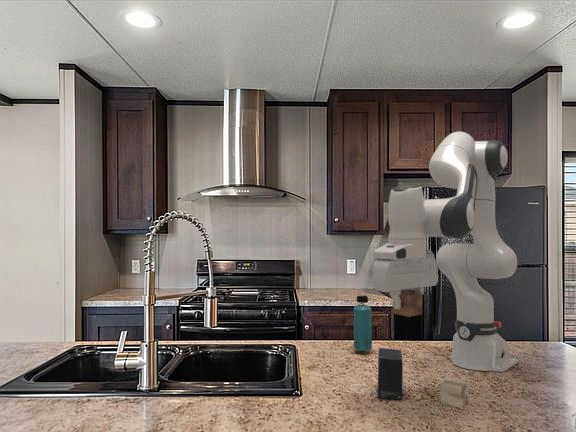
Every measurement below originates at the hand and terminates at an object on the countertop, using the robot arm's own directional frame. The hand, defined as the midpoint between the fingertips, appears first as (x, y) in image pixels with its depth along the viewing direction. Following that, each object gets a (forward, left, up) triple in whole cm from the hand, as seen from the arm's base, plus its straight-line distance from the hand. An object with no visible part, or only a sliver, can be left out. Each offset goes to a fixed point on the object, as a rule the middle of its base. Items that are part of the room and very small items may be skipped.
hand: (407, 307), depth 112 cm
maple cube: (-13, +4, -25) cm, 28 cm away
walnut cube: (0, 0, -2) cm, 2 cm away
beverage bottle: (-27, -43, -25) cm, 56 cm away
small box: (-5, -10, -25) cm, 27 cm away
